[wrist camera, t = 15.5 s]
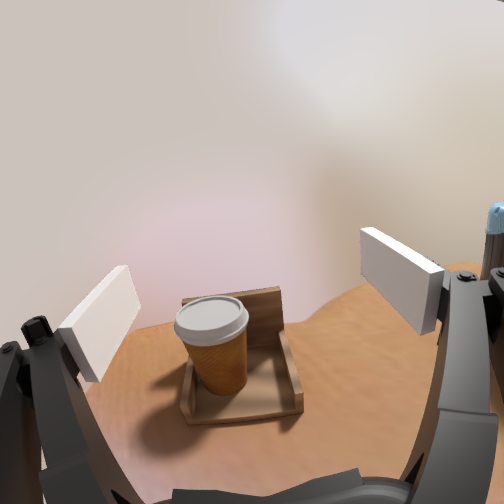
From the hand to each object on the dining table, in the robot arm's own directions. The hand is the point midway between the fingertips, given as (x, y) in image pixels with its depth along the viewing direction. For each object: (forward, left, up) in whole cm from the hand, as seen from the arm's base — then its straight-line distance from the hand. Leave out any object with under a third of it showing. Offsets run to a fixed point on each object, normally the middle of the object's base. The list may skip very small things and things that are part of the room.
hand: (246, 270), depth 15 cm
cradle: (-14, -10, -24) cm, 30 cm away
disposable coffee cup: (-13, -12, -23) cm, 29 cm away
